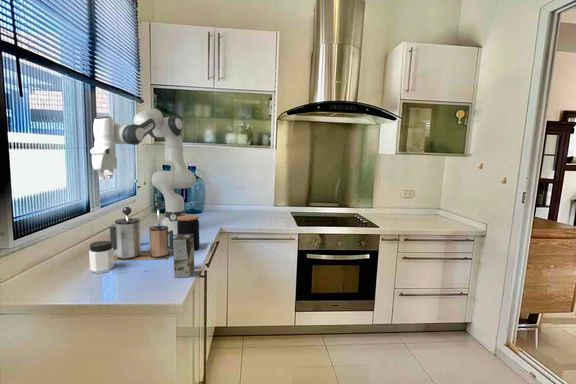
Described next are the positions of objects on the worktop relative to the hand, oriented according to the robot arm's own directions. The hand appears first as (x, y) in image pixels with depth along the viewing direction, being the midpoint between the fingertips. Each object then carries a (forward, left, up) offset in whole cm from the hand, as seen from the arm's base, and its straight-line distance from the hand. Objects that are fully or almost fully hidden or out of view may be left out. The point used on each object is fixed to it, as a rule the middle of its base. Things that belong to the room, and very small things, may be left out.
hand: (106, 179), depth 159 cm
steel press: (+10, +11, -36) cm, 39 cm away
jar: (+25, +6, -37) cm, 45 cm away
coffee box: (+32, +41, -37) cm, 64 cm away
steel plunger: (+10, +12, -34) cm, 37 cm away
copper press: (+10, +27, -36) cm, 46 cm away
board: (+9, +18, -37) cm, 42 cm away
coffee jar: (0, +38, -37) cm, 53 cm away
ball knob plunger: (+10, +26, -27) cm, 39 cm away
